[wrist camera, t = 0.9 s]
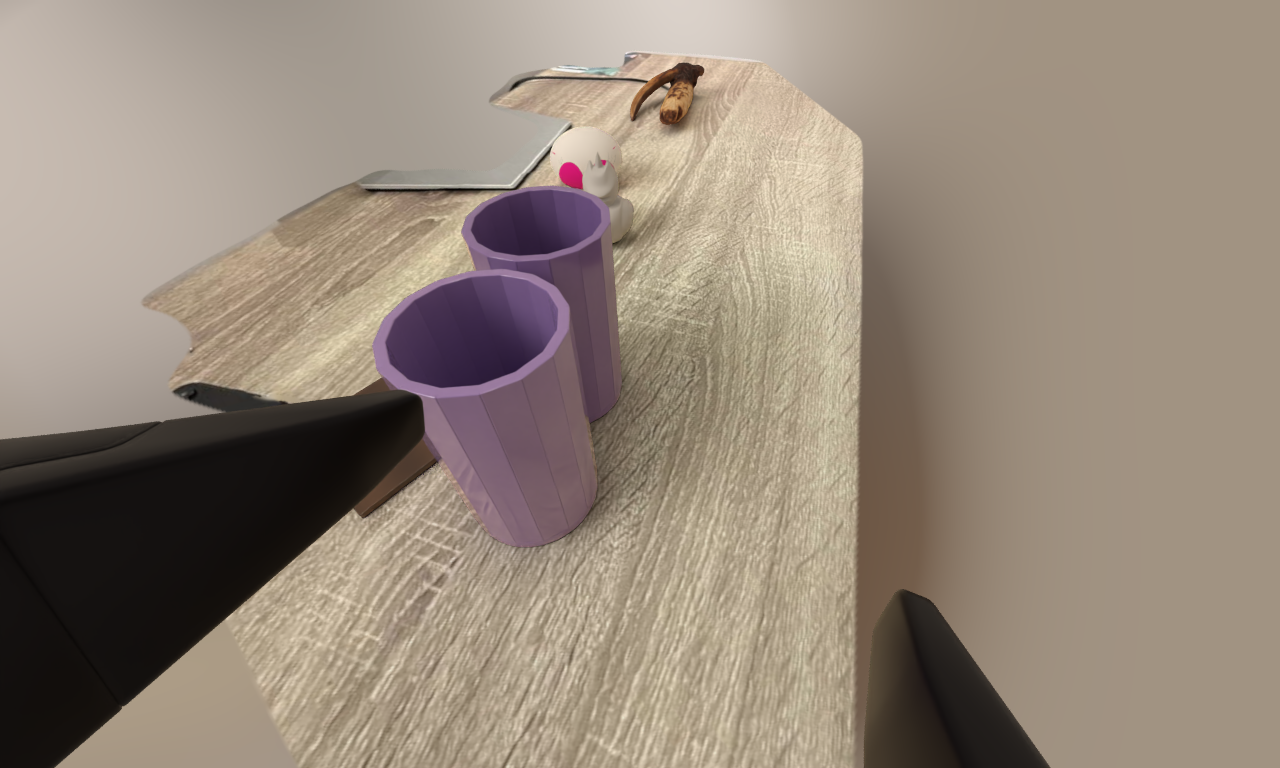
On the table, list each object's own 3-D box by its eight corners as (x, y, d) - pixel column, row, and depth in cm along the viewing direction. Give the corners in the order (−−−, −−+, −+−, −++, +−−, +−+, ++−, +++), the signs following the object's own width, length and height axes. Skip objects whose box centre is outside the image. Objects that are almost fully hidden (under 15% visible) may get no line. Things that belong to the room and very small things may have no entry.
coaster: (363, 518, 24) (359, 515, 24) (294, 437, 28) (290, 433, 28) (489, 421, 29) (487, 417, 28) (415, 361, 32) (413, 357, 32)
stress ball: (560, 223, 51) (547, 191, 44) (556, 157, 52) (542, 116, 45) (627, 218, 51) (624, 185, 44) (621, 151, 52) (618, 110, 45)
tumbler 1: (569, 447, 27) (530, 280, 18) (497, 392, 30) (432, 225, 21) (642, 380, 31) (640, 212, 22) (571, 337, 34) (542, 173, 25)
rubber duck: (571, 254, 41) (558, 163, 35) (582, 217, 45) (571, 131, 39) (631, 255, 41) (628, 163, 35) (636, 218, 45) (634, 131, 39)
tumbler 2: (530, 575, 22) (448, 433, 13) (448, 494, 25) (336, 334, 16) (623, 479, 26) (608, 314, 17) (541, 417, 29) (491, 250, 20)
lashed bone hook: (645, 93, 72) (620, 133, 60) (644, 57, 68) (617, 92, 56) (704, 93, 70) (690, 134, 58) (706, 56, 67) (692, 92, 55)
